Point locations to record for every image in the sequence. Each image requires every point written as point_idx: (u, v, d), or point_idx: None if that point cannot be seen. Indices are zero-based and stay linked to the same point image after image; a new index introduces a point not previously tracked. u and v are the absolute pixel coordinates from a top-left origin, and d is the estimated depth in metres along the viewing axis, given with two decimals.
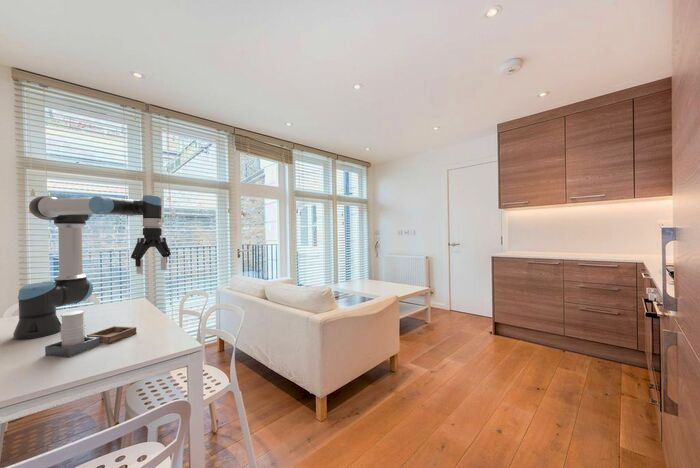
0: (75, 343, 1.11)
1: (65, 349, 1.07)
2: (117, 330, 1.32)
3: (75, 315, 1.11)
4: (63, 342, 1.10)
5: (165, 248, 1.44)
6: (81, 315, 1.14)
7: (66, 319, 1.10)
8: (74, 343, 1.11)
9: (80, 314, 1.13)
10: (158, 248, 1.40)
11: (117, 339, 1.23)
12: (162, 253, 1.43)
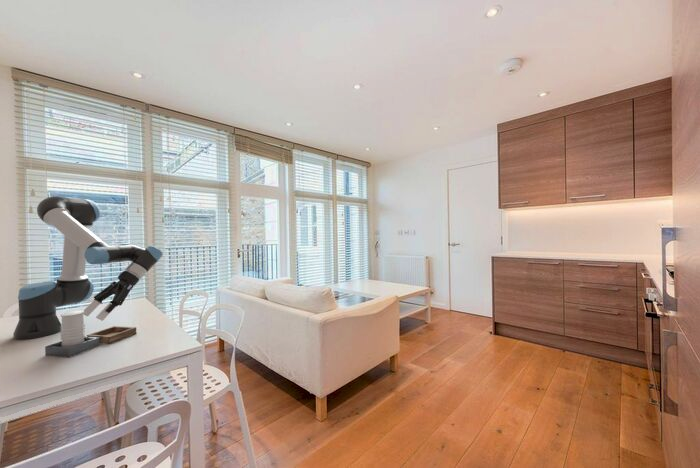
0: (75, 343, 1.11)
1: (65, 349, 1.07)
2: (117, 330, 1.32)
3: (75, 315, 1.11)
4: (63, 342, 1.10)
5: None
6: (81, 315, 1.14)
7: (66, 319, 1.10)
8: (74, 343, 1.11)
9: (80, 314, 1.13)
10: (109, 293, 1.26)
11: (117, 339, 1.23)
12: (102, 298, 1.25)
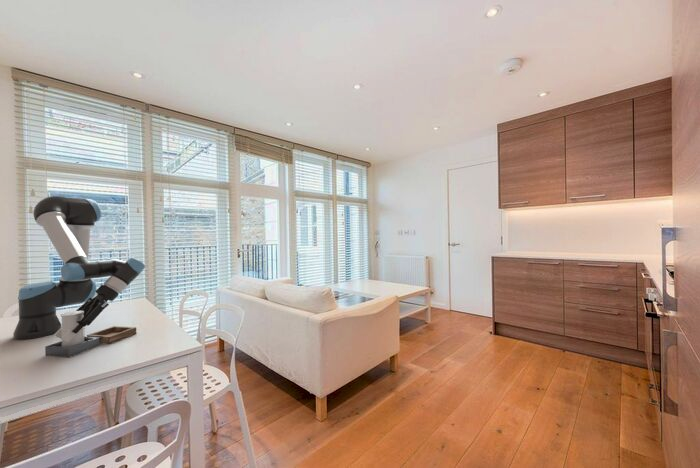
0: (75, 343, 1.11)
1: (65, 349, 1.07)
2: (117, 330, 1.32)
3: (75, 315, 1.11)
4: (63, 342, 1.10)
5: None
6: (81, 315, 1.14)
7: (66, 319, 1.10)
8: (74, 343, 1.11)
9: (80, 314, 1.13)
10: (86, 310, 1.19)
11: (117, 339, 1.23)
12: None
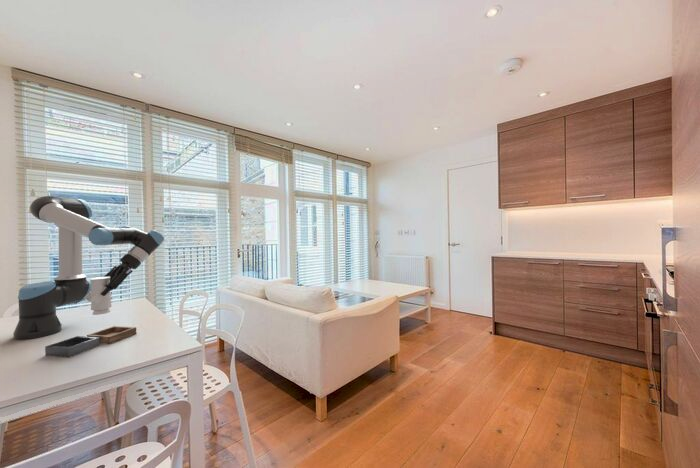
0: (103, 305, 1.20)
1: (65, 349, 1.07)
2: (117, 330, 1.32)
3: (103, 279, 1.20)
4: (92, 304, 1.19)
5: None
6: (108, 280, 1.22)
7: (95, 282, 1.19)
8: (102, 305, 1.20)
9: (107, 279, 1.22)
10: (112, 276, 1.28)
11: (117, 339, 1.23)
12: None
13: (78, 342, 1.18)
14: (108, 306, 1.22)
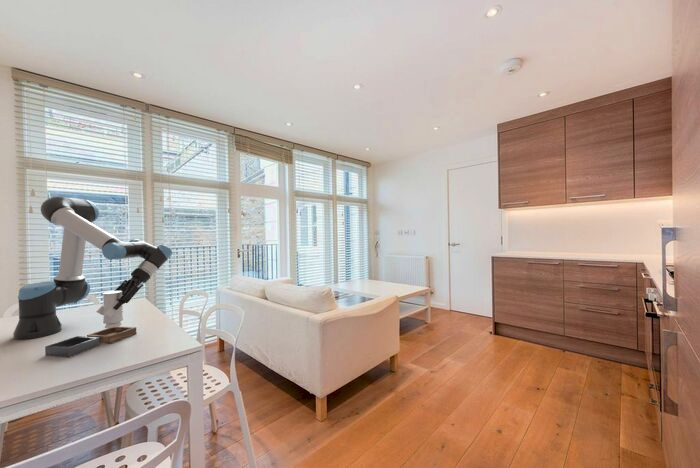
0: (115, 319, 1.25)
1: (65, 349, 1.07)
2: (117, 330, 1.32)
3: (115, 294, 1.25)
4: (105, 317, 1.24)
5: None
6: (120, 294, 1.27)
7: (108, 297, 1.24)
8: (115, 319, 1.25)
9: (119, 293, 1.26)
10: (123, 290, 1.32)
11: (117, 339, 1.23)
12: None
13: (78, 342, 1.18)
14: (120, 319, 1.26)
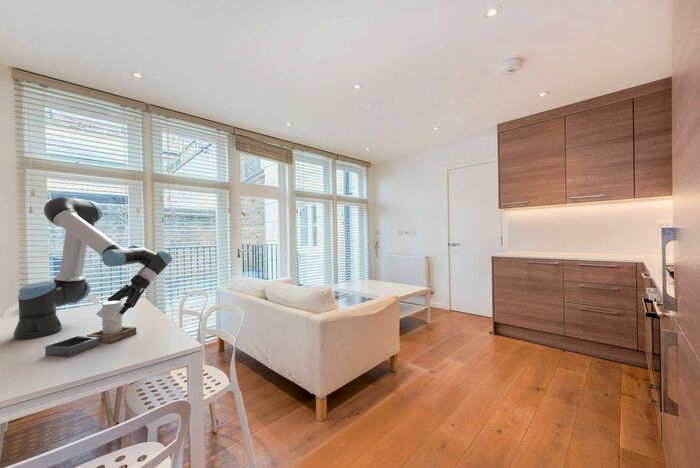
0: (115, 329, 1.25)
1: (65, 349, 1.07)
2: None
3: (115, 304, 1.25)
4: (104, 328, 1.24)
5: None
6: (119, 304, 1.27)
7: (107, 307, 1.24)
8: (114, 329, 1.25)
9: (119, 303, 1.27)
10: (122, 295, 1.33)
11: (117, 339, 1.23)
12: (115, 300, 1.33)
13: (78, 342, 1.18)
14: (119, 329, 1.27)
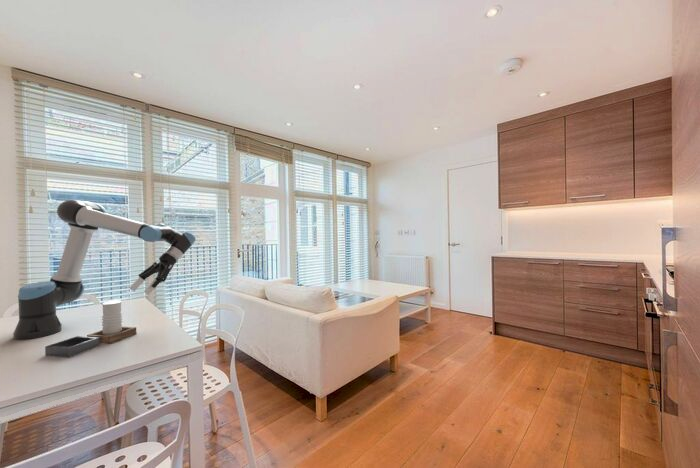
0: (115, 329, 1.25)
1: (65, 349, 1.07)
2: None
3: (115, 304, 1.25)
4: (104, 328, 1.24)
5: None
6: (119, 304, 1.27)
7: (107, 307, 1.24)
8: (114, 329, 1.25)
9: (119, 303, 1.27)
10: (151, 272, 1.44)
11: (117, 339, 1.23)
12: (146, 276, 1.44)
13: (78, 342, 1.18)
14: (119, 329, 1.27)
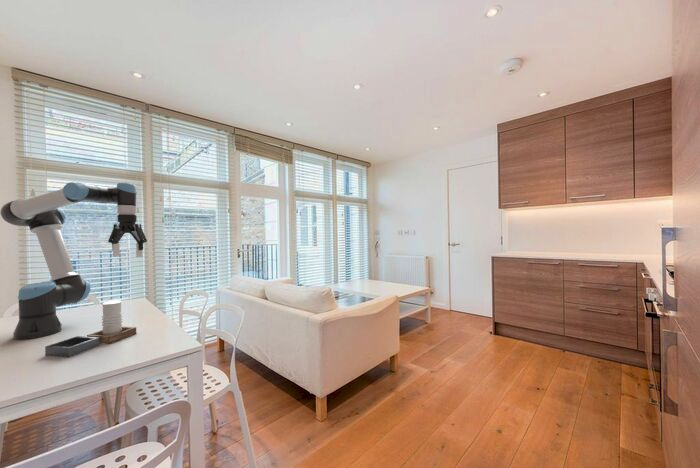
0: (115, 329, 1.25)
1: (65, 349, 1.07)
2: None
3: (115, 304, 1.25)
4: (104, 328, 1.24)
5: None
6: (119, 304, 1.27)
7: (107, 307, 1.24)
8: (114, 329, 1.25)
9: (119, 303, 1.27)
10: (120, 234, 1.43)
11: (117, 339, 1.23)
12: (117, 240, 1.44)
13: (78, 342, 1.18)
14: (119, 329, 1.27)
